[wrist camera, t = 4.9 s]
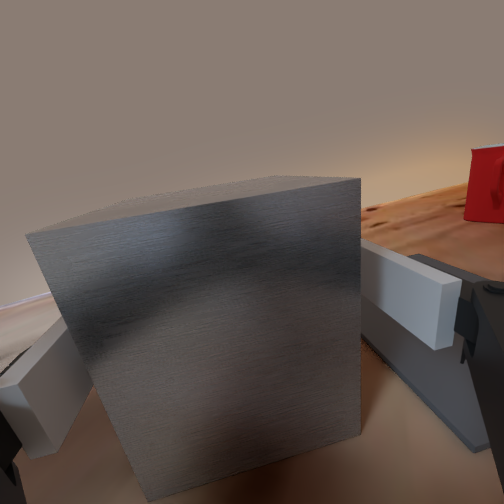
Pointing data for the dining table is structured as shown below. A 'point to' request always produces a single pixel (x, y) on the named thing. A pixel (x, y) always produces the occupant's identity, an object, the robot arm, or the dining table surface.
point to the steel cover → (217, 322)
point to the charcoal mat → (430, 366)
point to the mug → (486, 185)
